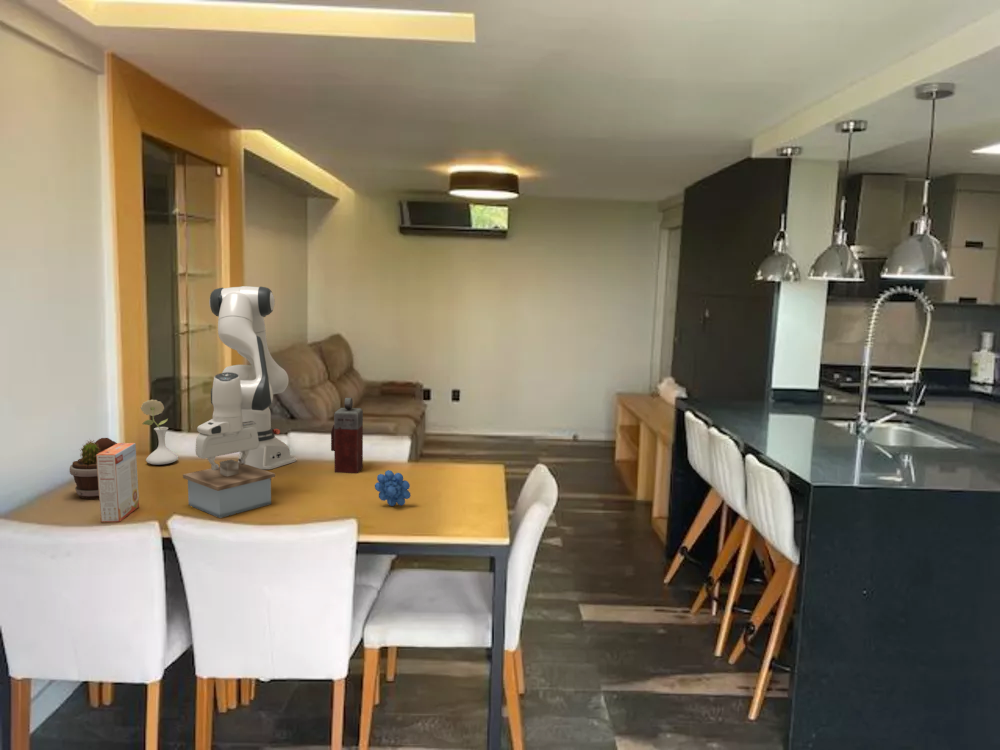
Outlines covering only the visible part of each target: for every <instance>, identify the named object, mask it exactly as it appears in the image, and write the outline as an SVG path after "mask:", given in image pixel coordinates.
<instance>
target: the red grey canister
mask: <svg viewBox="0 0 1000 750" xmlns="http://www.w3.org/2000/svg"><path fill="white" fill-rule="evenodd" d="M353 402H354V401H353V397H345V398H344V407H340V408H339V409H337V410H336V411H334V415H333V416H334V417H333V419H334V420H333V421H334V422H333V423H334V424H333V426H332V428H331V431H330V446H331V447H330V451H331V452H334V454H333V455H334V457H333V458H334V473H335V474H336V473H337V474H339V473H341V474H359V473H360V471H361V470H362V469H363V467H364V457H363V455H364V454H363V453H364V451H363V450H364V448H363V447H364V444H363V443H364V441H363V440H364V438H363V437H364V431H363V430H364V429H363V428H364V427H363V425H364V424H363V423H364V420H363V419H364V417H363V416H364V413H363V412H364V411H363V409H362V408H360V407H359V408H357V407H353V404H354V403H353Z"/></svg>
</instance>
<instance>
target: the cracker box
mask: <svg viewBox="0 0 1000 750" xmlns="http://www.w3.org/2000/svg"><path fill="white" fill-rule="evenodd" d="M116 443H117V444H115V445H113V446H111V447H110V448H108V449H106V450H104V451H102V452H100V453H98V454H97V455H96V460H97V473H98V487H99V498H98V499H99V500H98V501H99V512H100V514H99V515H100V522H101V523H117V522H122V521H124V519H125V518H127V517H128V516H130V514H132V513H134V511H135V510H137V509H138V508H140V497H139V482H138V481H139V480H138V467H137V466H138V465H137V447H136V443H135V442H129V443H128V442H116Z"/></svg>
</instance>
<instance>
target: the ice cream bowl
mask: <svg viewBox="0 0 1000 750" xmlns="http://www.w3.org/2000/svg"><path fill="white" fill-rule="evenodd" d="M94 442H95V444H96V445H98V446H97V447H99V449H100V451H99V450H98V453H99V452H102V451H104V450H106V449H108V448H110V447H111V446H113V445H115V444H117V443H118V442H117V441H114V440H112V439H111V438H109V437H101V438H98V439H97V440H95V441H94ZM97 443H98V444H97Z"/></svg>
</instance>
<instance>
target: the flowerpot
mask: <svg viewBox="0 0 1000 750" xmlns="http://www.w3.org/2000/svg"><path fill="white" fill-rule="evenodd" d="M95 442H96V441H95V440H94V439H93V440H86V443H85V444H83V445H82V447H81V448H79V449H78V450H79V451H80V453H79V456H80V458H79V459H77V460H76V461H75V460H73V461H72V464H71V465H70V466H69V474H70V475H71V476H73V478H74V483H75V484H76V486H75V492H76V495H78V496H79V497H80V498H82V499H89V500H91V499H92V500H97V499H96V498H98V499H99V487H98V473H97V460H96V455H97V454H98V450H99V451H100V449H99V447H97V446H98V445H96V444H95ZM97 444H98V443H97ZM99 453H100V452H99Z"/></svg>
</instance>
